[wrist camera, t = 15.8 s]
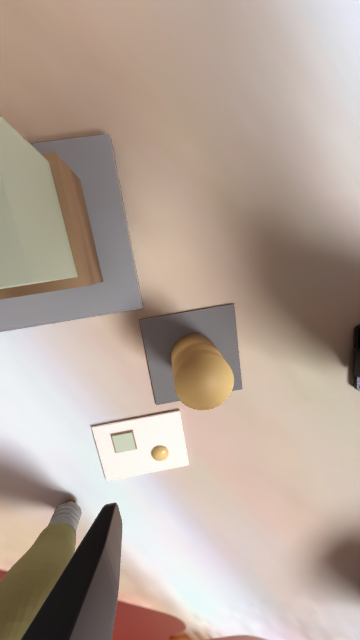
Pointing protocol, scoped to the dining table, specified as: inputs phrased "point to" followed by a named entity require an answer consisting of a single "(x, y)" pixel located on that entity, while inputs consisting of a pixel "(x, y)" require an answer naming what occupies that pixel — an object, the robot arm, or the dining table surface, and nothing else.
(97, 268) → the walnut block
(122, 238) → the plate
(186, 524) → the dining table surface
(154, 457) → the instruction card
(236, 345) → the charcoal pad
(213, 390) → the ochre peg
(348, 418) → the dining table surface
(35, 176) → the sage block
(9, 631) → the light bulb
